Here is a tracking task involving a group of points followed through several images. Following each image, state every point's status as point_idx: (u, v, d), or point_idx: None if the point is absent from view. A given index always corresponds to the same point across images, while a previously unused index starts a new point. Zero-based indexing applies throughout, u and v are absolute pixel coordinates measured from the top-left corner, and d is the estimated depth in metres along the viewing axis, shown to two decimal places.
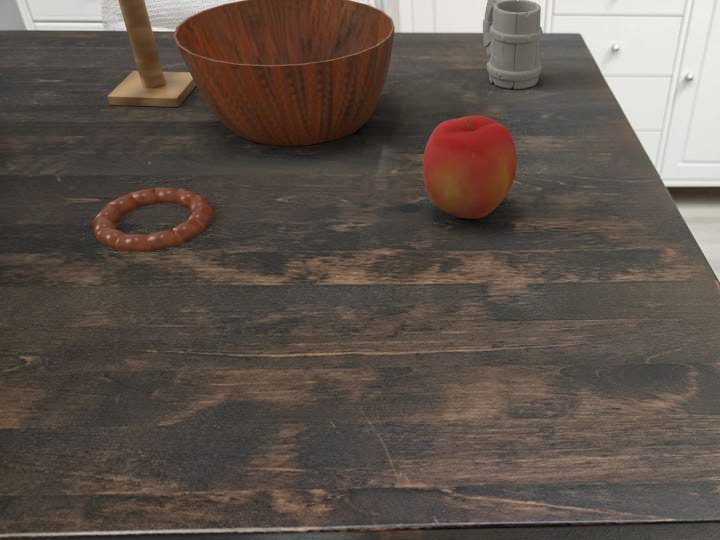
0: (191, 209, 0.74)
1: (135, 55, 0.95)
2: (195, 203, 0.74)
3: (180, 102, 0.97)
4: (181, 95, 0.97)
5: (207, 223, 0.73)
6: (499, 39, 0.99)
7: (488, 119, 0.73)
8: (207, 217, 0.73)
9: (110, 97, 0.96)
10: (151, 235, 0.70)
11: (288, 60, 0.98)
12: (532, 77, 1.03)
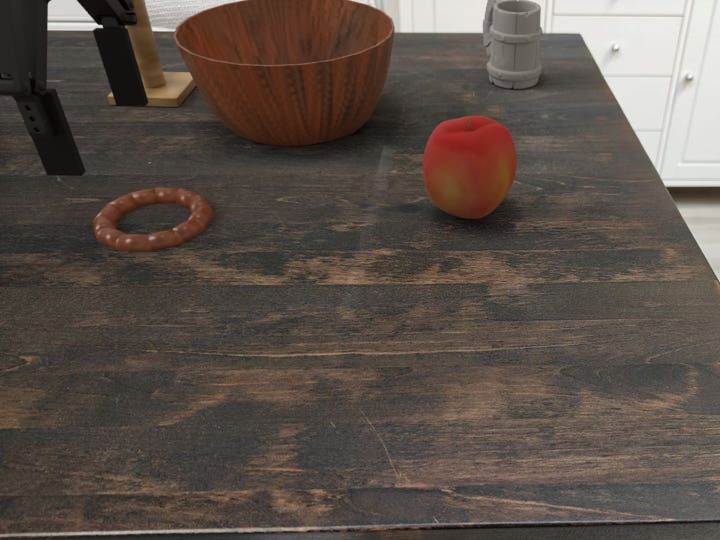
0: (191, 209, 0.74)
1: (135, 55, 0.95)
2: (195, 203, 0.74)
3: (180, 102, 0.97)
4: (181, 95, 0.97)
5: (207, 223, 0.73)
6: (499, 39, 0.99)
7: (488, 119, 0.73)
8: (207, 217, 0.73)
9: (110, 97, 0.96)
10: (151, 235, 0.70)
11: (288, 60, 0.98)
12: (532, 77, 1.03)
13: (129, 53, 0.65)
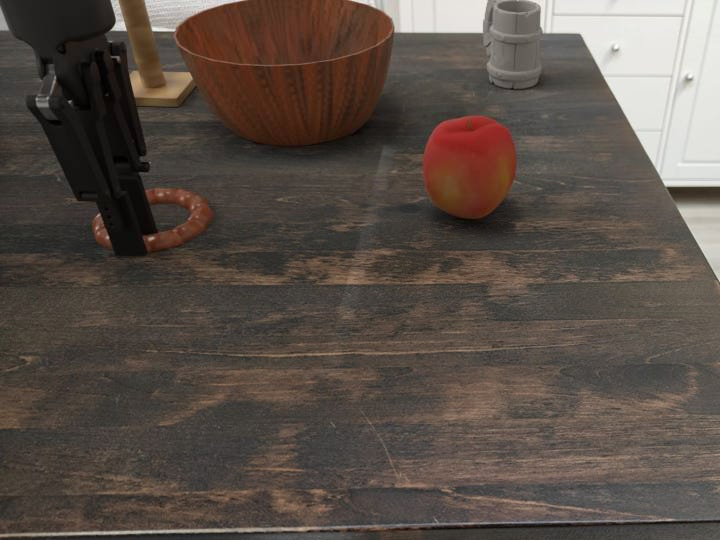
0: (191, 210, 0.74)
1: (135, 55, 0.95)
2: (195, 204, 0.74)
3: (180, 102, 0.97)
4: (181, 95, 0.97)
5: (207, 224, 0.73)
6: (499, 39, 0.99)
7: (488, 119, 0.73)
8: (206, 218, 0.73)
9: None
10: (150, 236, 0.69)
11: (288, 60, 0.98)
12: (532, 77, 1.03)
13: (142, 197, 0.68)
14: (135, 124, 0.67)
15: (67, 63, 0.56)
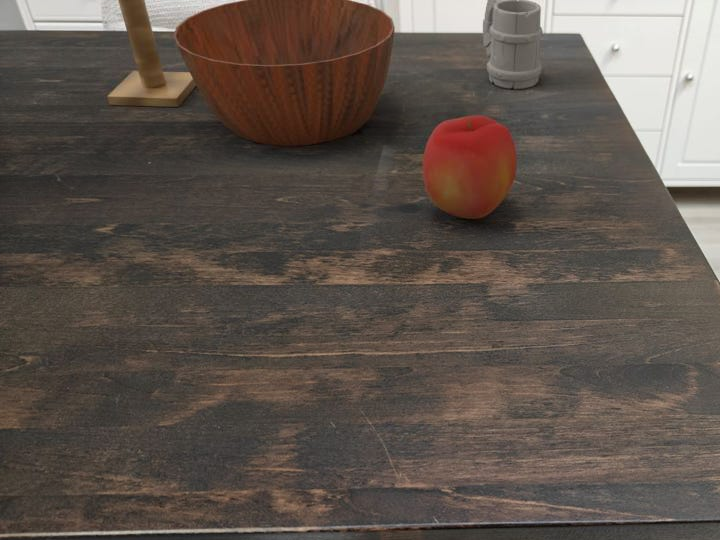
0: None
1: (135, 55, 0.95)
2: None
3: (180, 102, 0.97)
4: (181, 95, 0.97)
5: None
6: (499, 39, 0.99)
7: (488, 119, 0.73)
8: None
9: (110, 97, 0.96)
10: None
11: (288, 60, 0.98)
12: (532, 77, 1.03)
13: None
14: None
15: None
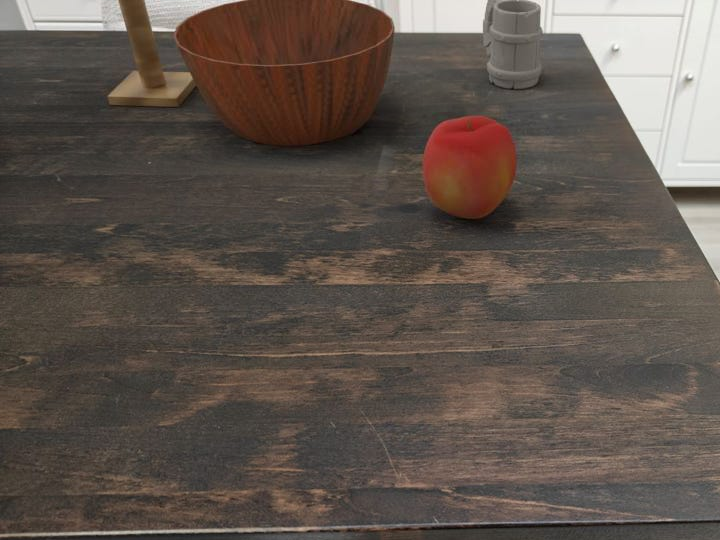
0: None
1: (135, 55, 0.95)
2: None
3: (180, 102, 0.97)
4: (181, 95, 0.97)
5: None
6: (499, 39, 0.99)
7: (488, 119, 0.73)
8: None
9: (110, 97, 0.96)
10: None
11: (288, 60, 0.98)
12: (532, 77, 1.03)
13: None
14: None
15: None
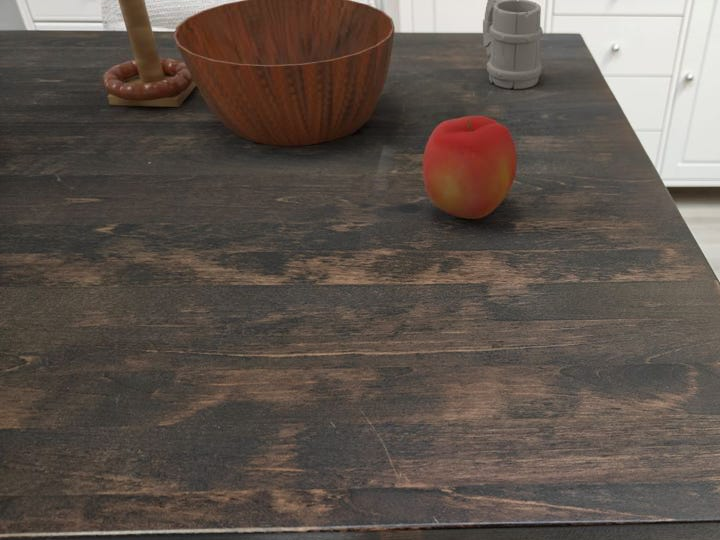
0: (177, 71, 0.98)
1: (135, 55, 0.95)
2: (180, 67, 0.98)
3: (180, 102, 0.97)
4: (181, 95, 0.97)
5: (188, 80, 0.97)
6: (499, 39, 0.99)
7: (488, 119, 0.73)
8: (188, 76, 0.97)
9: (110, 97, 0.96)
10: (146, 84, 0.94)
11: (288, 60, 0.98)
12: (532, 77, 1.03)
13: None
14: None
15: None
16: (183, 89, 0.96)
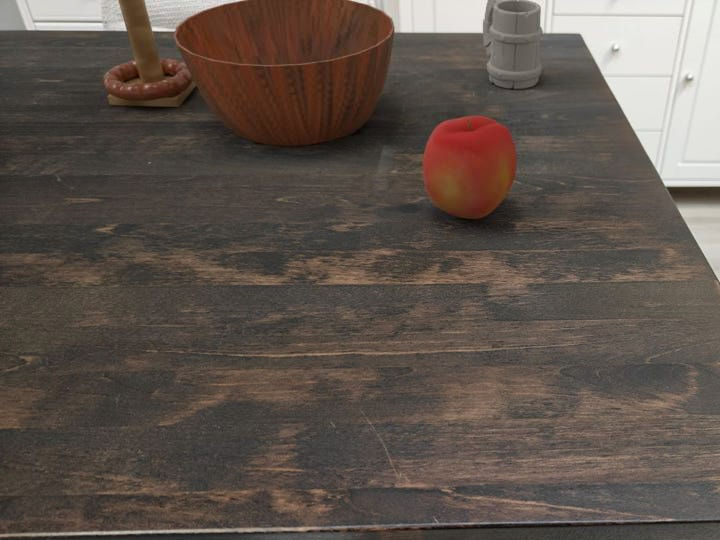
0: (177, 71, 0.98)
1: (135, 55, 0.95)
2: (180, 67, 0.98)
3: (180, 102, 0.97)
4: (181, 95, 0.97)
5: (188, 80, 0.97)
6: (499, 39, 0.99)
7: (488, 119, 0.73)
8: (188, 76, 0.97)
9: (110, 97, 0.96)
10: (146, 84, 0.94)
11: (288, 60, 0.98)
12: (532, 77, 1.03)
13: None
14: None
15: None
16: (183, 89, 0.96)
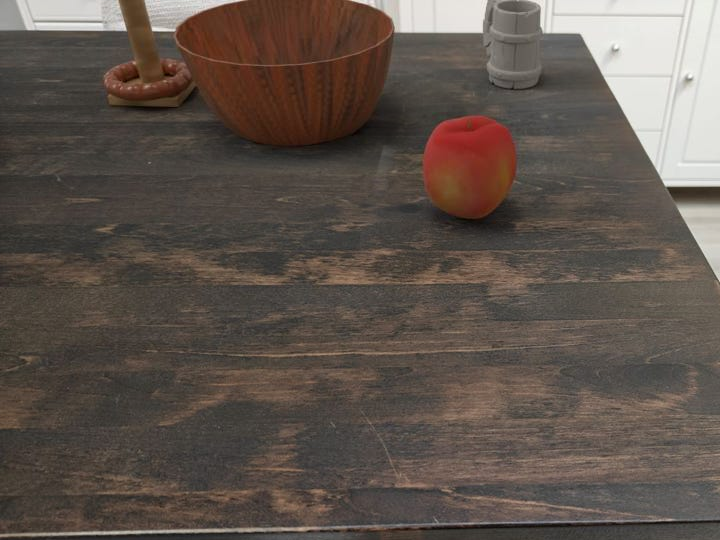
0: (177, 71, 0.98)
1: (135, 55, 0.95)
2: (180, 67, 0.98)
3: (180, 102, 0.97)
4: (181, 95, 0.97)
5: (188, 80, 0.97)
6: (499, 39, 0.99)
7: (488, 119, 0.73)
8: (188, 76, 0.97)
9: (110, 97, 0.96)
10: (146, 84, 0.94)
11: (288, 60, 0.98)
12: (532, 77, 1.03)
13: None
14: None
15: None
16: (183, 89, 0.96)
